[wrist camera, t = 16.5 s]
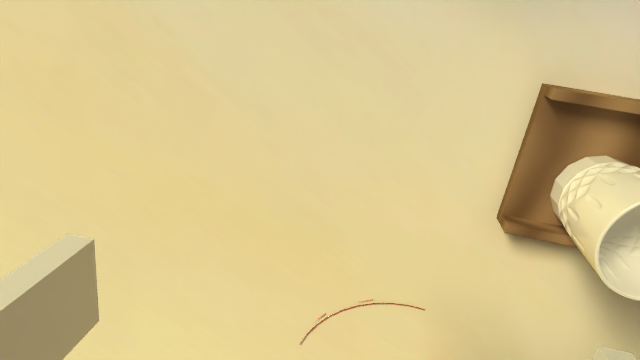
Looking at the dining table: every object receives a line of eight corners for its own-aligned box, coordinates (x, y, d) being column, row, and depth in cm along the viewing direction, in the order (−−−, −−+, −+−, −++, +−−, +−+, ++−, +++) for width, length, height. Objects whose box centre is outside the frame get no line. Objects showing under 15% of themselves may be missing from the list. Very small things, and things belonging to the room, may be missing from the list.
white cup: (525, 214, 38) (571, 278, 29) (572, 134, 35) (641, 176, 26) (608, 245, 38) (681, 318, 29) (663, 167, 35) (764, 220, 26)
